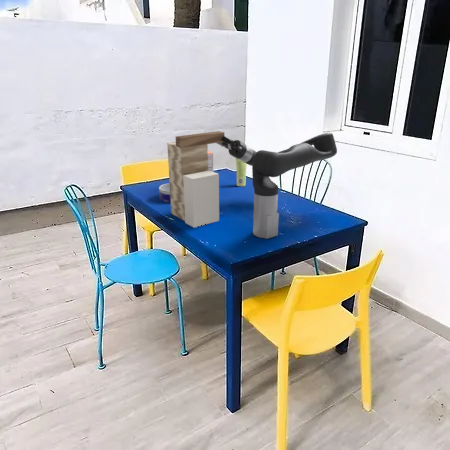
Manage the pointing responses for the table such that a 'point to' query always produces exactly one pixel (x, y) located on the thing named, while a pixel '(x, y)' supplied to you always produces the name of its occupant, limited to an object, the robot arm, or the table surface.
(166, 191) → the dog bowl
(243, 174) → the tube
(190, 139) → the light brown wooden block
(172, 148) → the birch stand
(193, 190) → the white block
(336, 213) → the table surface
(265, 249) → the table surface
